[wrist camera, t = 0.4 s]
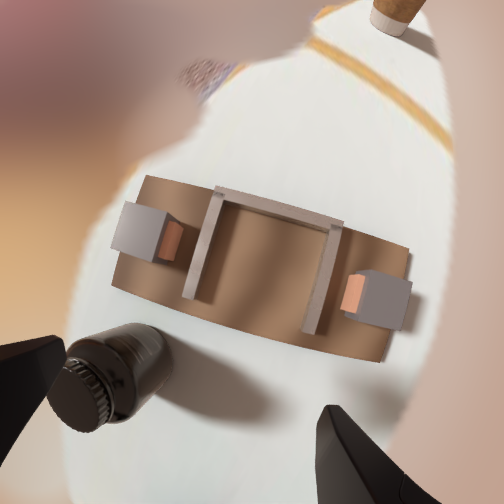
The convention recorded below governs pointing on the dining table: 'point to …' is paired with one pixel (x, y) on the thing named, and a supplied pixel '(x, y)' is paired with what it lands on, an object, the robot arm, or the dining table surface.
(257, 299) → the walnut rail
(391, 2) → the coffee cup
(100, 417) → the supplement bottle
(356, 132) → the dining table surface
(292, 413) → the dining table surface
